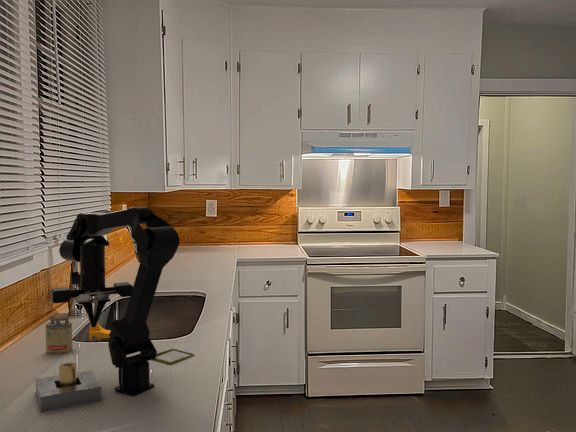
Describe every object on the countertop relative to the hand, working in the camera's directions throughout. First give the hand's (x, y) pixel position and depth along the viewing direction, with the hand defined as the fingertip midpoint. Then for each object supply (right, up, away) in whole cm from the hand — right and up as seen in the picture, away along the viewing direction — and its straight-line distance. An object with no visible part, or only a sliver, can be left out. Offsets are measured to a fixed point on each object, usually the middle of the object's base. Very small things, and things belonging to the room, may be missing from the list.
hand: (93, 327), depth 129 cm
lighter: (-17, -11, +20) cm, 28 cm away
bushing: (-1, -13, -13) cm, 18 cm away
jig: (-1, -13, -13) cm, 18 cm away
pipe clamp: (-7, -11, +32) cm, 35 cm away
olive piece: (+17, -12, +12) cm, 24 cm away
